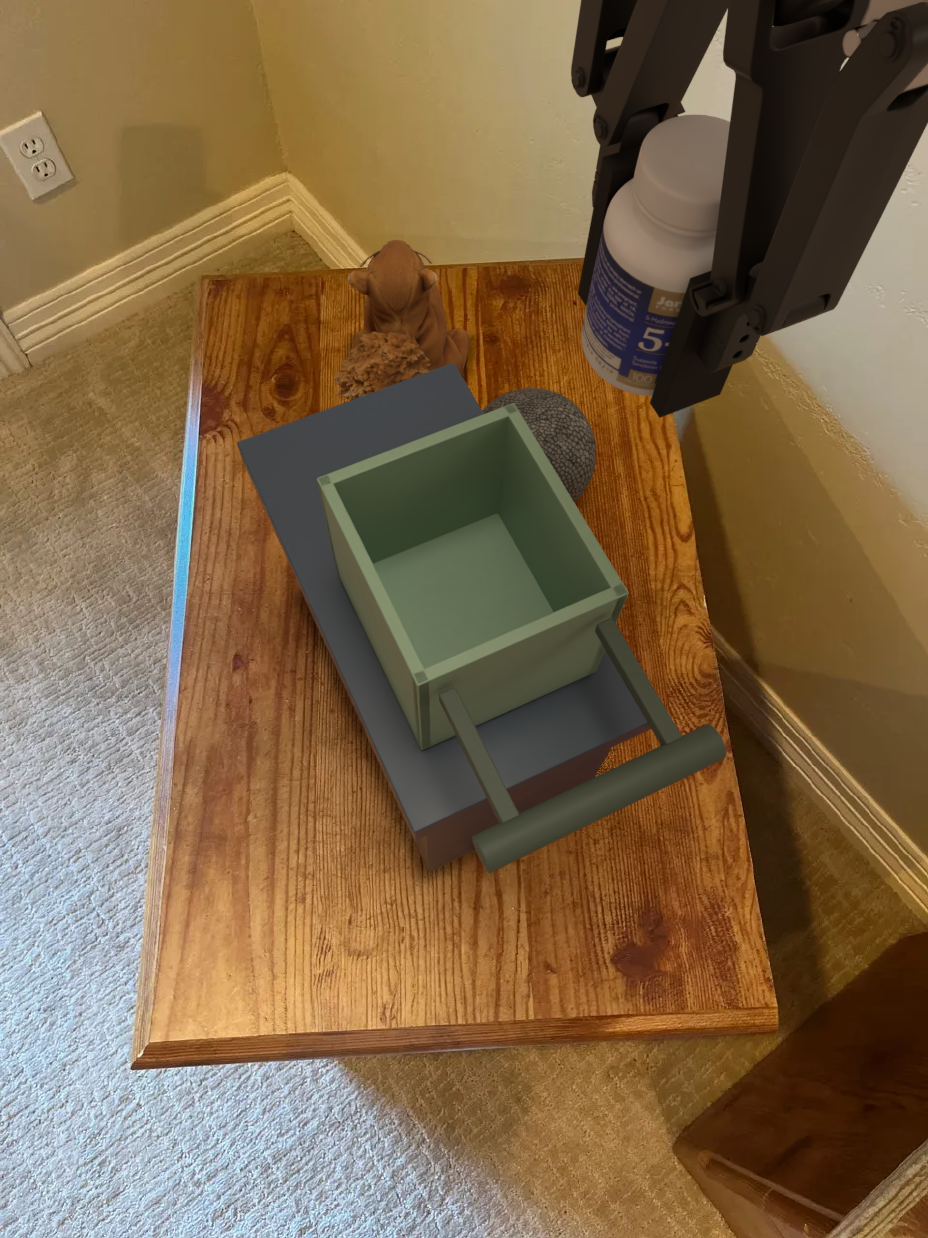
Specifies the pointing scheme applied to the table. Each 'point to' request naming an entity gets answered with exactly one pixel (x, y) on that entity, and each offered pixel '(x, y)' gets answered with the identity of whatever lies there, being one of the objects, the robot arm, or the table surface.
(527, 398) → the decorative ball
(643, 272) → the pill bottle
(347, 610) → the gray rectangular block
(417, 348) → the stuffed squirrel
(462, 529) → the basket
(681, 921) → the table surface
